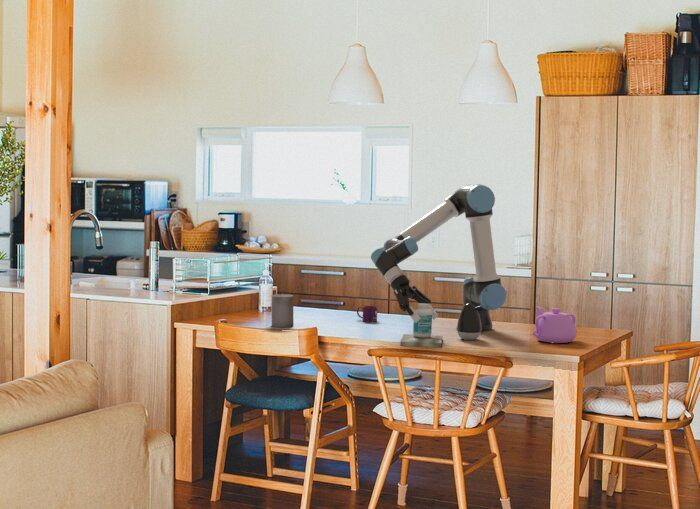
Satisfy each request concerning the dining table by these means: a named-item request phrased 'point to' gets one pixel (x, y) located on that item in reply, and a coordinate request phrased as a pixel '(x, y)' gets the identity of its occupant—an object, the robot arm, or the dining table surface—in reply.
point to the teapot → (554, 326)
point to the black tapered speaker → (469, 322)
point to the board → (421, 341)
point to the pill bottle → (423, 321)
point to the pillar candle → (282, 310)
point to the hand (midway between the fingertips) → (427, 319)
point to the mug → (368, 313)
